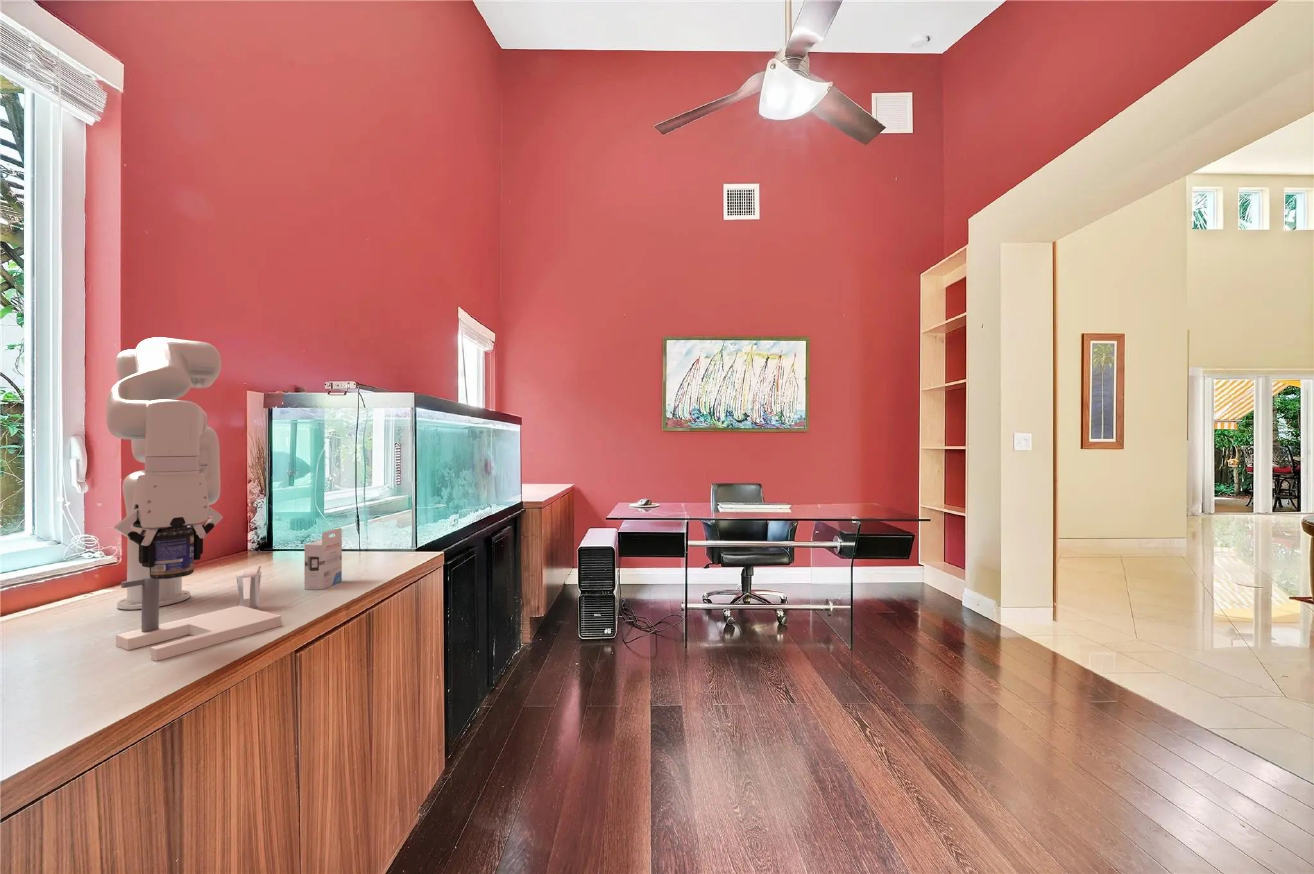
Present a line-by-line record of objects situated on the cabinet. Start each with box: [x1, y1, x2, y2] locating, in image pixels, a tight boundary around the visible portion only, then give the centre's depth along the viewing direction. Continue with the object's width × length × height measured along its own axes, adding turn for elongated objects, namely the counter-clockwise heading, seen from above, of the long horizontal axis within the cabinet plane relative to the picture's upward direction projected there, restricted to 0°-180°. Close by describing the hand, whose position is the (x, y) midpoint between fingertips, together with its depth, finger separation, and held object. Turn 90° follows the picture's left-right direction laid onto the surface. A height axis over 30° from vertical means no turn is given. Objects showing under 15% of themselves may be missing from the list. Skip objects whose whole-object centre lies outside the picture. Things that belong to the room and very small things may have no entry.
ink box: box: [303, 527, 343, 591], centre depth 141 cm, size 9×5×15 cm, turn 179°
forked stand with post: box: [115, 577, 282, 662], centre depth 104 cm, size 16×20×12 cm
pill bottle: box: [150, 517, 195, 579], centre depth 98 cm, size 6×6×11 cm
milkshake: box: [235, 565, 262, 610], centre depth 120 cm, size 4×5×10 cm
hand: (171, 561), depth 98 cm, fingers closed on pill bottle, 6 cm apart
